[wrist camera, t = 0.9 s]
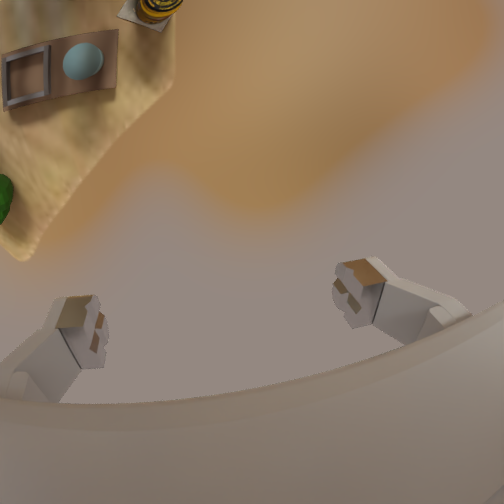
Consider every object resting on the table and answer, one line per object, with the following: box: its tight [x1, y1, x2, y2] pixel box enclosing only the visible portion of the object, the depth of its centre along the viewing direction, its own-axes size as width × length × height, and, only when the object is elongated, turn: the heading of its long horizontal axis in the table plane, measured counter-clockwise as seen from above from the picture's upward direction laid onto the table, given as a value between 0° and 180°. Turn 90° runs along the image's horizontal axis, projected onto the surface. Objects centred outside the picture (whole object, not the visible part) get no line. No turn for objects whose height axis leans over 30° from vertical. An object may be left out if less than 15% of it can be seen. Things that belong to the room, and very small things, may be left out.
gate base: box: [2, 29, 118, 112], centre depth 28 cm, size 20×10×12 cm, turn 84°
